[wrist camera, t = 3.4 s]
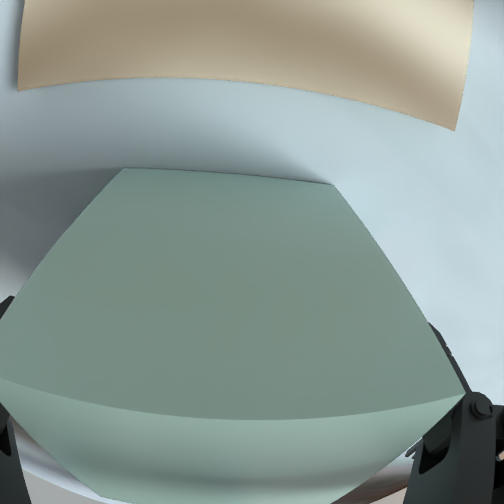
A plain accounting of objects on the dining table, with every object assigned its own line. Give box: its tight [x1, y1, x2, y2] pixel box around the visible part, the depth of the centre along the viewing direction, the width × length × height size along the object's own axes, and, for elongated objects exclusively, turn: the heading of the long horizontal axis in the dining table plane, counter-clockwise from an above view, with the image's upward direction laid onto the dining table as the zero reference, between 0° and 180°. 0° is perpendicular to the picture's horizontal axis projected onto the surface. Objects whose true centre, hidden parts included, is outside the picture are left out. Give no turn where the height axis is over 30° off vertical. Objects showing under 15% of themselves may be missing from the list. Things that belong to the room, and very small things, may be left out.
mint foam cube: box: [0, 168, 466, 504], centre depth 8 cm, size 7×7×8 cm
